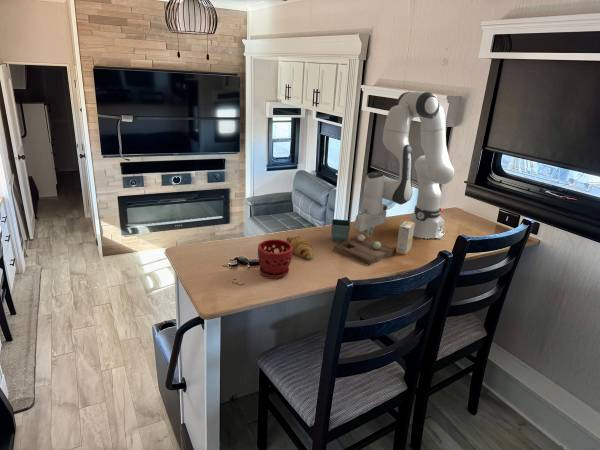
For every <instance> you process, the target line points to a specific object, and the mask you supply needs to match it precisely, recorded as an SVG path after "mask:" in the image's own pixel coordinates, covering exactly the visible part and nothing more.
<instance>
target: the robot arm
mask: <svg viewBox="0 0 600 450" xmlns="http://www.w3.org/2000/svg"><path fill="white" fill-rule="evenodd" d="M439 100H440V99H439V98H438V96H437V95H436V94H435V93H433V92H430V91H419V90H418V91H417V90H416V91H406V92H403V93H402V94H400V96H398V98H397V100H396V102H395V103H396V104H395V105H394V106H392V107H391V108H390V109H389V111H388V113H387V115H386V119H385V122H384V127H383V131H382V132H383V133H382V143H383V145H384V147H385V148H386V149H387V150H388V151H389V152H390V153H392V154H393V156H395V157H396V158H397V159H398V161H399V174H398V175H399V177H398V178H399V180H398V179H393V178H390V177H388V176H385V174H384V173H383V172H381V171H372V172H370V173H368V174H367V175H366V177H365V181H364V187H363V199H362V205H361V210H360V211H359V212H358V213H357V214H356V216H355V220H354V224H353V229H354V231H356V232H359V233H362V232H365V235H364V236H365V238H366V237H367V238H369V237H371V236H372V235H373V231H374V230H375V227H377V226H380V225H383V224H384V223H385V222H386V218H387V210H388V208H389V207H388V205H387V204H384V203H383V199H385V200H388V201H390V202H393V203H395V204H397V205H401V206H402V205H404V204H406V203H408V202H409V201H410V200H411V199H412V196H413V185H412V182H413V181H412V180H413V156H414V155H413V154H414V153H413V148H412V147H411V146H410V142H409V140H410V139H409V133H410V128H411V123H412V121H413V119H414V118H419V120H420V146H421V149H422V151H423V154H424V155H423V154H422V155H420V156H419V157H417V159H416V160H415V162H414V169H415V171H416V177H417V198H416V205H415V206H414V211H413V214H412V215H411V217H410V221H409V222H413V223H415V226H414V233H413V237H415V238H418V239H419V238H420V239H423V238H425V239H426V240H430V239H429V238H437V239H436V240H439V239H440V238H441V237H442V236H443V235H444V234H445V233H444V234H443V233H441V232H442V231H443V229H444V228H445V219H443V217H441V212H443V207H440V205H441V200H442V191H441V188H440V185H446V184H448V183H450V182H452V180H453V179H454V177H455V169H454V166H453V165H452V163H451V161H450V157H449V156H450V155H449V153H448V147H447V137H446V135H447V133H446V132H447V131H446V127H447V126H446V115H445V111H444V108H443V106H442V105H440V101H439ZM445 235H446V234H445ZM445 235H444V236H445ZM444 236H443V237H444ZM443 237H442V238H443ZM427 238H428V239H427ZM425 239H424V240H425ZM440 240H441V239H440Z"/></svg>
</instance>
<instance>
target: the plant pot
mask: <svg viewBox="0 0 600 450" xmlns="http://www.w3.org/2000/svg"><path fill="white" fill-rule="evenodd" d="M273 246H274V247H273ZM275 250H278V251H279V252H275ZM292 258H293V253H292V245H291V244H290V243H288V242H287V240H281V239H277V238H276V239H275V238H274V239H267V240H263V241H261V242H260V243H258V245H257V259H258V263H259V265H260V266H259V270H258V271H259V272H260V274H261V275H262V276H264V277H265V278H269V279H282V278H284V277H286V276H288V274H289V273H290V267H289V266H290V265H291V262H292Z"/></svg>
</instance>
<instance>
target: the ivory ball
mask: <svg viewBox="0 0 600 450" xmlns="http://www.w3.org/2000/svg"><path fill="white" fill-rule="evenodd" d="M357 236H358V240H359V241H364V240H365V239H366V236H365V235H364V234H363V233H362V234H359V235H357Z"/></svg>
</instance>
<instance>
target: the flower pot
mask: <svg viewBox="0 0 600 450" xmlns="http://www.w3.org/2000/svg"><path fill="white" fill-rule="evenodd" d="M351 227H352V226H351V220H347V219H340V218H339V219H338V218H336V219H335V218H331V231H330V232H331V237H332V240H333V242H338V243H341V242H343V241H346V240H348V238H349V235H350V231H351Z"/></svg>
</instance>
